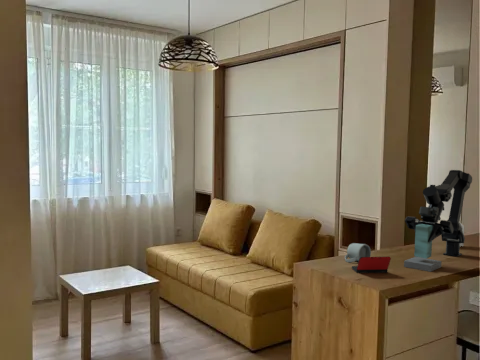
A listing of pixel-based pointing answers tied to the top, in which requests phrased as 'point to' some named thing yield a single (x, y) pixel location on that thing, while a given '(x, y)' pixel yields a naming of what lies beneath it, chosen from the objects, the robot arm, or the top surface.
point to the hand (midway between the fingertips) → (422, 240)
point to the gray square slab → (422, 264)
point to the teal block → (423, 241)
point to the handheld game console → (372, 265)
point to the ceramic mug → (357, 252)
